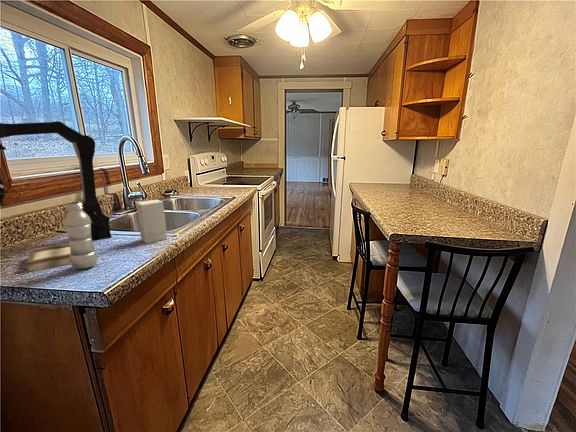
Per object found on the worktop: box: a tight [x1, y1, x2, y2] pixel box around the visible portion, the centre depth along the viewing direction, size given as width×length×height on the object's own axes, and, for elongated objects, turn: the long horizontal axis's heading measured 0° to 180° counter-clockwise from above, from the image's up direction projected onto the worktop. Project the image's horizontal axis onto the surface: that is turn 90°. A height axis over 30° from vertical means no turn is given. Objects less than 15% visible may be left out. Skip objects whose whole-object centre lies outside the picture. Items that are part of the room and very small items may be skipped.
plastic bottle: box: [62, 201, 98, 270], centre depth 81 cm, size 6×7×20 cm
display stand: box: [26, 242, 71, 272], centre depth 88 cm, size 13×13×3 cm
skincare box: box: [135, 199, 168, 244], centre depth 106 cm, size 8×7×16 cm
